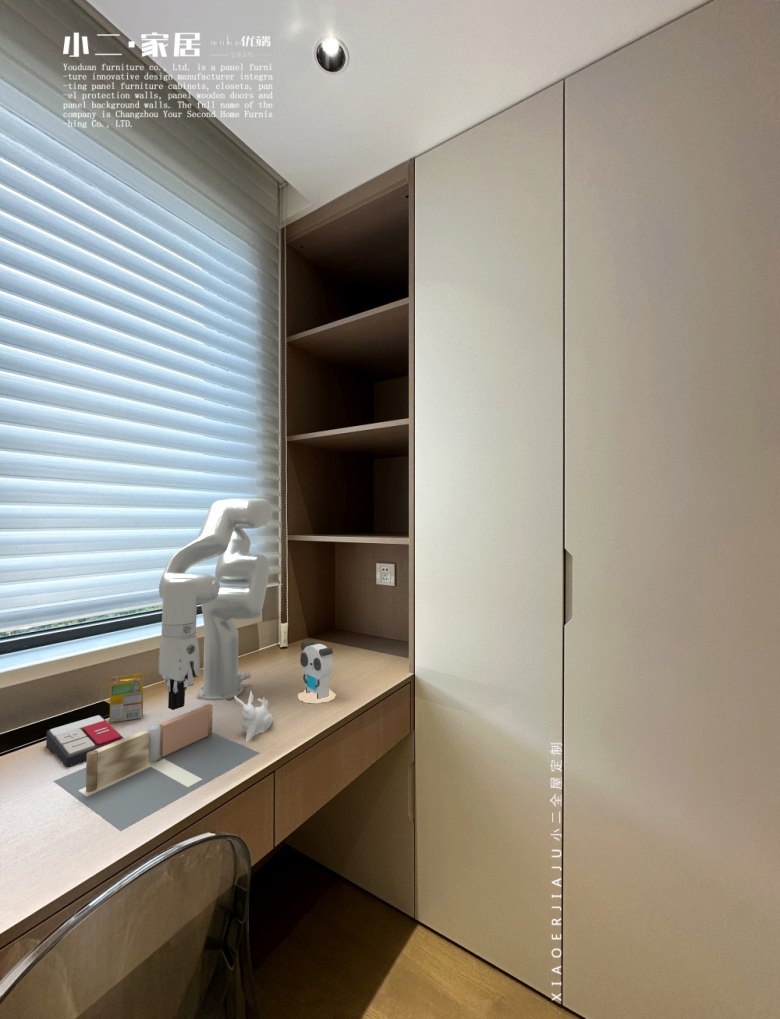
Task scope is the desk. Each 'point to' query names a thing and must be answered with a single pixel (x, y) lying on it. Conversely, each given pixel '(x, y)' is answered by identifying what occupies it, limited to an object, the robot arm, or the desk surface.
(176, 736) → the fence swing panel
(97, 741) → the calculator
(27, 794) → the desk surface
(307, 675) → the panda figurine
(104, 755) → the panel
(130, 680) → the crayon box
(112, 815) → the mat
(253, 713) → the rabbit figurine
